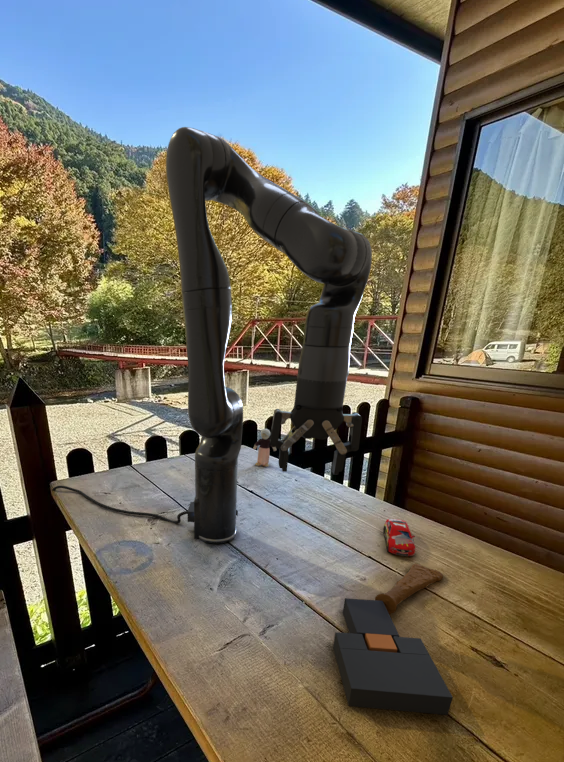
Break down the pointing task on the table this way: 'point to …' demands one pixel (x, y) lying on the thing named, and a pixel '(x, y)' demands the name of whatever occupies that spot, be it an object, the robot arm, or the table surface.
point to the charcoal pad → (371, 623)
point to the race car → (398, 537)
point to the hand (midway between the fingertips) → (309, 471)
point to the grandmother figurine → (263, 448)
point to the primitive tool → (409, 586)
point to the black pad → (391, 676)
